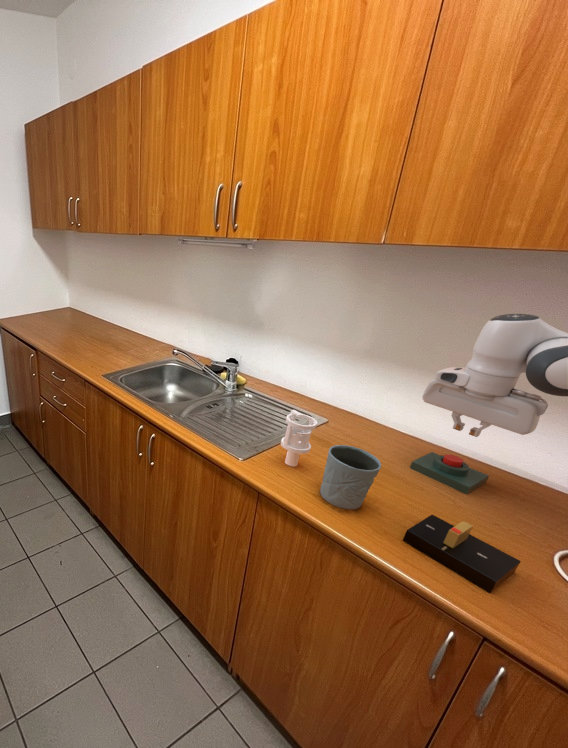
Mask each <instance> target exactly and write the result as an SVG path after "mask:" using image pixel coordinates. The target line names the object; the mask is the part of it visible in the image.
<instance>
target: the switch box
mask: <svg viewBox="0 0 568 748" xmlns="http://www.w3.org/2000/svg"><path fill="white" fill-rule="evenodd" d="M444 456H445V455H442V454H438V453H437V452H433V451H430V452H429V453H427V454H425V455H423V456H420V457H418V458H416V459H415V460H412V461H411V464H410V466H409V469H410V470H412V471H415V472H417V473H420V474H421V475H423V476H426V477H428V478H430V479H431V480H434V481H437V482H439V483H441V484H443V485H445V486H447V487H450V488H451V489H454V490H456V491H458V492H459V493H462V494H465V495H468V494H470V493H471V492H473V491H475V490H476V489H478V488H480V487H481V486H482V485H484V484H486V483H487V481H488V479H489V477H490V475H489V474H487V473H484V472H482V471H479V470H477V469H474V468H471V467H470V465H469V464H468V463H466V462H464V461H463V464H462V466H461V467H460V468H457V467H452V466H449V465H447V464H445V463H443V462H442V461H443V458H444Z"/></svg>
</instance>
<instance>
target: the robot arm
mask: <svg viewBox="0 0 568 748" xmlns="http://www.w3.org/2000/svg"><path fill="white" fill-rule="evenodd" d="M482 327H483V328H482V329H481V331H480V333H479V335H478V337H477V339H476V341H475V343H474V346H473V348H472V349H473V350H472V356H471V359H470V360H469V361H468V362H467V364H466V366H465V367H464V366H463V367H461V366H460V367H459V366H450V367H446V368H445V367H444V368H442V369H440V370H438V371H437V372H436V373H435V376H434V377H435V379H432V380H430V382H429V383H428V384H427V385H426V387H425V390H424V391H423V394H422V396H421V398H422V400H423V402H424V403H426V404H429V405H432V406H434V407H438V408H441V409H443V410H447V411H450V412H452V413H451V418H452V421H453V425H452V429H453V430H455V431H458V432H461V431H463V430H464V429H465V425H466V423H464V422H462V419H461V416H465V417H468V418H470V419H473V420H477V421H480V423H479V425H480V427H476V426H473V427H471V428H470V430H469V432H468V435H469V436H472V437H474V438H478V437H479V436H480V435H481V434H482V431H483V430H486V429H487V428H489V427H491V426H495V427H498V428H501V429H503V430H507V431H510V432H512V433H516V434H519V435H522V436H524V435H529V434H531V433H533V432H535V431H536V429H537V427H538V424H539V422H540V417H541V416H542V415H544V414H545V413H546V412H547V409H548V407H549V404H548V402H547V400H546V399H544V398H542V396H541V395H538V394H534V393H529V392H527V391H523V390H520V389H517V388H515V387H516V385H517V382H518V381H519V379H520V377H521V374H525V377H526V379H527V381H528V383H529V384H530V385H531V386H532V387H533V388H535V389H536V390H538V391H540V392H541V393H543V394H547V395H551V396H556V397H568V332H566V331H563V330H560V329H558V328H556V327H554V326H552V325H551V324H549V323H547V322H546V321H544V320H543V319H542V318H541V317H540V316H538V315H535V314H526V313H506V314H505V313H504V314H500V315H496V316H494V317H492V318H490V319H489V320H487V322H486V323H485V324H484V326H482Z"/></svg>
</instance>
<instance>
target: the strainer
mask: <svg viewBox="0 0 568 748" xmlns="http://www.w3.org/2000/svg"><path fill="white" fill-rule="evenodd" d="M296 419H303V420H306V421H308V423H307V424H300V423H299V422H297V421H296ZM285 422H286V424H287V427H286V430H285V435H284V436H283V437H282V438H281V440H280V446H281V447H282V448H283V449H285V450H286V451H287V452H286V456H285V460H284V464H285V465H287V466H289V467H293V468H294V467H297V466H298V463H299V459H300V456H301V455H303V454H304V455H305V454H308V453H310V452H311V448H312V445H311V443H310V440H311V435H312V432H313V430H315V429H316V428H317V425H318V421H317V419H316V418H314V417H313V416H310V415H307V414H304V413H301V412H300V411H298V410H296V409H291V410H290V413H289V414H287V415H286V417H285Z"/></svg>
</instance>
